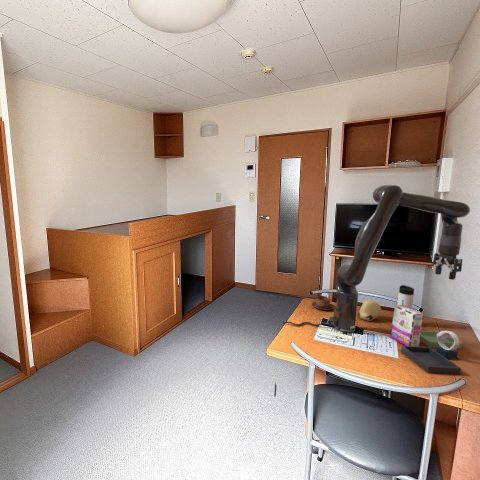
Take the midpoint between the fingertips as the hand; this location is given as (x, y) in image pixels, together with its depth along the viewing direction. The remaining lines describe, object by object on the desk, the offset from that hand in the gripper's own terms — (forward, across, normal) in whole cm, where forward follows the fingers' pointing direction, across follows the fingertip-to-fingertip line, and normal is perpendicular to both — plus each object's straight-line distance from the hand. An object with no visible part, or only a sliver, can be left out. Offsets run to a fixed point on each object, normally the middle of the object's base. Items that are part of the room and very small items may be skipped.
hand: (444, 276), depth 154 cm
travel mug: (+29, -10, -10) cm, 32 cm away
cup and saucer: (+29, -28, -44) cm, 60 cm away
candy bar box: (+29, +13, -23) cm, 39 cm away
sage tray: (+29, +11, -8) cm, 32 cm away
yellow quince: (+29, -14, -24) cm, 41 cm away
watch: (+29, +24, -13) cm, 40 cm away
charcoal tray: (+29, +30, -24) cm, 48 cm away
